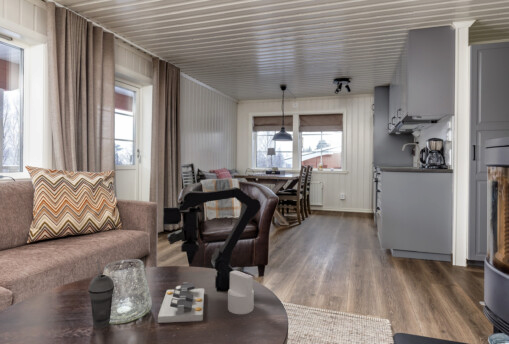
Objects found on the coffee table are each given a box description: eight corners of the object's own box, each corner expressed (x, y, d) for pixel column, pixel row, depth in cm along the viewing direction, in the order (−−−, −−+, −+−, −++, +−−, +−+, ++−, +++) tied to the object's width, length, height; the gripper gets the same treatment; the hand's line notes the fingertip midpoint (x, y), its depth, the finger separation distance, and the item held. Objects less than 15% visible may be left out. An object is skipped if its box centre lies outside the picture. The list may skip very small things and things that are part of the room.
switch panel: (204, 293, 123) (204, 281, 123) (202, 320, 102) (202, 305, 102) (167, 294, 121) (167, 282, 121) (157, 322, 100) (157, 307, 100)
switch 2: (192, 297, 114) (193, 294, 114) (192, 301, 110) (193, 299, 110) (173, 291, 113) (174, 289, 113) (172, 296, 109) (173, 293, 109)
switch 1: (195, 284, 121) (194, 282, 121) (194, 289, 117) (193, 286, 117) (176, 288, 120) (176, 285, 120) (175, 292, 116) (174, 290, 116)
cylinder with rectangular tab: (222, 308, 111) (222, 274, 111) (240, 300, 118) (241, 268, 117) (240, 316, 105) (241, 281, 105) (258, 308, 112) (259, 274, 111)
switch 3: (191, 305, 107) (192, 302, 107) (191, 310, 103) (192, 307, 103) (171, 300, 106) (172, 297, 106) (169, 306, 102) (170, 303, 102)
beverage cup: (104, 332, 94) (104, 266, 94) (82, 329, 96) (82, 264, 95) (119, 320, 102) (119, 258, 101) (99, 318, 103) (99, 257, 102)
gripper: (170, 219, 131) (170, 257, 131) (166, 229, 113) (166, 273, 113) (197, 219, 133) (197, 256, 134) (198, 228, 115) (198, 271, 115)
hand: (190, 263), depth 124 cm, fingers closed
